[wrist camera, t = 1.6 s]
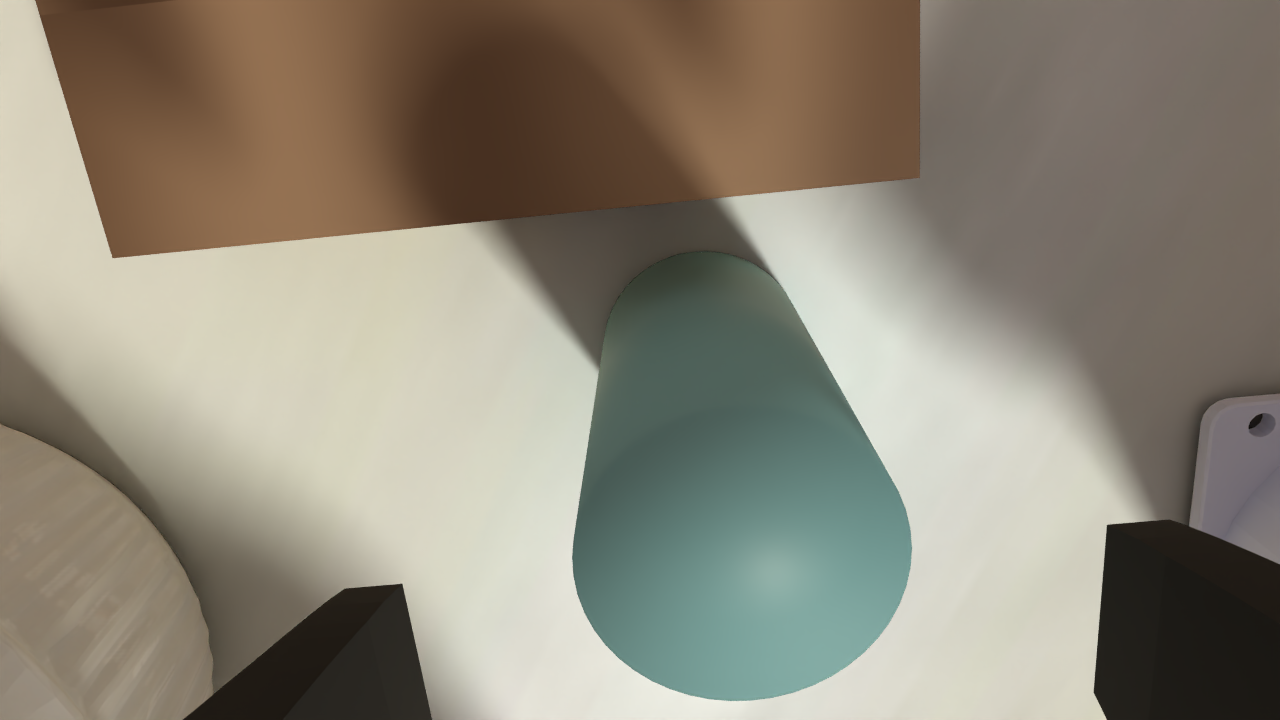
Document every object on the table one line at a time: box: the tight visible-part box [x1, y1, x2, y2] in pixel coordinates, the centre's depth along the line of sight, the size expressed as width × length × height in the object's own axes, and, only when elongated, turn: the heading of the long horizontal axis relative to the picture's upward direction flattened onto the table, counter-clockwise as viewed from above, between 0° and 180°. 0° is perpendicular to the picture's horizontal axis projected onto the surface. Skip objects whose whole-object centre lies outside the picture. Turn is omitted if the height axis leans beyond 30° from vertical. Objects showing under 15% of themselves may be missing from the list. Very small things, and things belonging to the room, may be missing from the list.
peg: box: [572, 251, 912, 701], centre depth 14 cm, size 4×4×8 cm
